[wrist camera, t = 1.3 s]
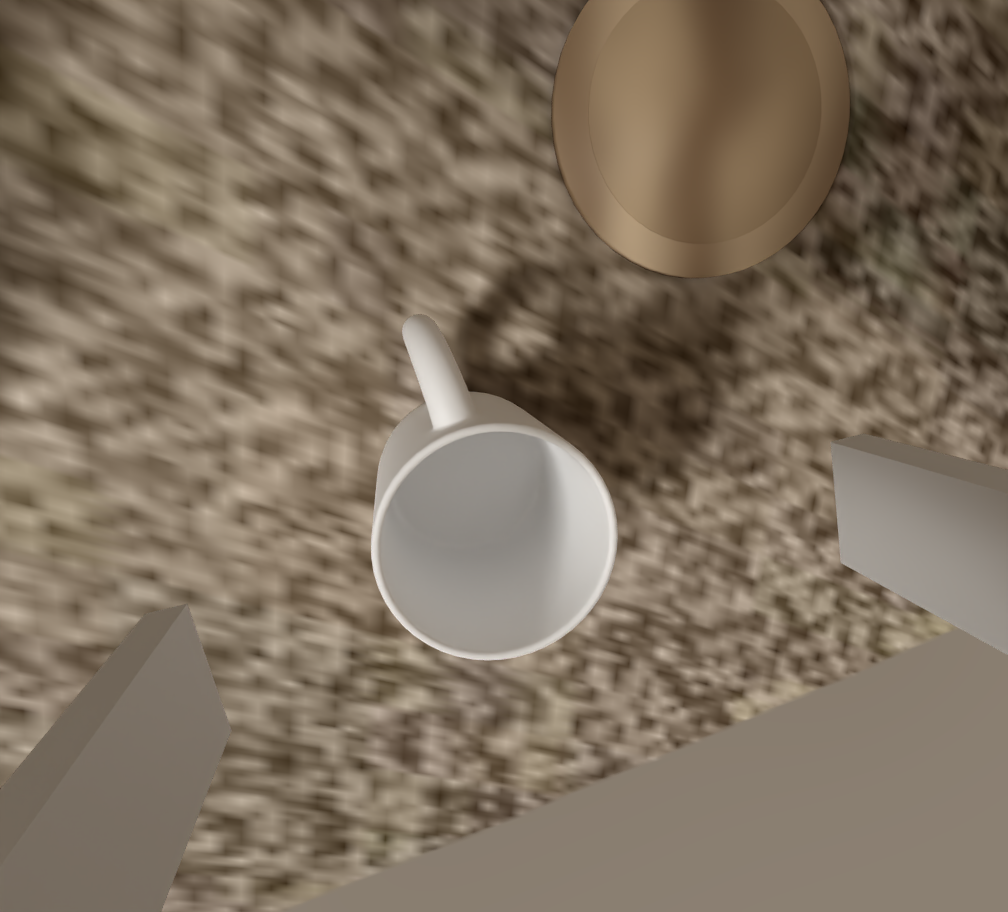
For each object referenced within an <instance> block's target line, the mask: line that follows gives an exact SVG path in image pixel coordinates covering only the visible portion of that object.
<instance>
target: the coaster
mask: <svg viewBox="0 0 1008 912" xmlns="http://www.w3.org/2000/svg"><path fill="white" fill-rule="evenodd" d="M849 117H850V88H849V80H848V71H847V66H846V62H845V57H844V53H843V49H842V46H841V43H840V40H839V37H838V35H837V32H836V29H835V27H834V25H833V23H832V21H831V19H830V17H829V15H828V13H827V11H826V9H825V7H824V6H823V4H822V3H821V1H820V0H589V1H588V2H587V4H586V5H585V6H584V8H583V9H582V11H581V13H580V14H579V16H578V18H577V20H576V22H575V23H574V25H573V27H572V29H571V31H570V32H569V35H568V37H567V40H566V42H565V45H564V47H563V50H562V52H561V55H560V59H559V63H558V66H557V70H556V74H555V79H554V86H553V93H552V110H551V124H552V135H553V144H554V149H555V154H556V158H557V163H558V167H559V170H560V172H561V175H562V178H563V181H564V184H565V187H566V189H567V191H568V193H569V195H570V197H571V199H572V201H573V203H574V205H575V207H576V208H577V210H578V211H579V213H580V214H581V216H582V217H583V219H584V220H585V222H586V223H587V224H588V225H589V227H590V228H591V229H592V230H593V231H594V232H595V233H596V235H597V236H598V237H599V238H600V239H601V240H602V241H603V242H605V243H606V244H607V245H608V246H609V247H610V248H611V249H612V250H614V251H615V252H617V253H618V254H620V255H621V256H623V257H624V258H626V259H627V260H629V261H630V262H632V263H634V264H636V265H638V266H641V267H643V268H645V269H647V270H650V271H653V272H656V273H660V274H663V275H668V276H674V277H680V278H706V277H714V276H722V275H727V274H730V273H734V272H738V271H741V270H744V269H746V268H749V267H751V266H753V265H756V264H758V263H760V262H762V261H763V260H765V259H767V258H768V257H770V256H772V255H773V254H775V253H776V252H778V251H779V250H780V249H782V248H783V247H784V246H785V245H787V244H788V243H789V242H791V241H792V240H793V239H794V238H795V237H796V236H797V235H798V234H799V233H800V232H801V231H802V230H803V229H804V228H805V226H806V225H807V224H808V222H809V221H810V220H811V219H812V217H813V216H814V215H815V213H816V212H817V211H818V209H819V207H820V206H821V204H822V203H823V201H824V199H825V198H826V196H827V194H828V192H829V190H830V188H831V186H832V184H833V181H834V179H835V177H836V175H837V172H838V169H839V166H840V163H841V160H842V157H843V153H844V149H845V144H846V140H847V135H848V126H849Z"/></svg>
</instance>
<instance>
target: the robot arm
mask: <svg viewBox="0 0 1008 912" xmlns="http://www.w3.org/2000/svg"><path fill="white" fill-rule="evenodd" d="M831 452H832V464H833V475H834V487H835V499H836V510H837V522H838V534H839V545H840V557H841V563H842V564H844V565H846V566H848V567H849V568H851V569H853V570H855V571H857V572H859V573H860V574H862V575H864V576H866V577H868V578H869V579H871V580H873V581H875V582H877V583H878V584H880V585H882V586H884V587H886V588H887V589H889V590H891V591H893V592H895V593H896V594H898V595H900V596H902V597H904V598H906V599H907V600H909V601H911V602H913V603H915V604H916V605H918V606H920V607H922V608H924V609H925V610H927V611H929V612H931V613H933V614H934V615H936V616H938V617H940V618H942V619H944V620H945V621H947V622H949V623H951V624H953V625H954V626H956V627H958V628H960V629H962V630H963V631H965V632H967V633H969V634H971V635H973V636H975V637H976V638H978V639H980V640H981V641H983V642H985V643H987V644H989V645H991V646H992V647H994V648H996V649H998V650H1000V651H1002V652H1003V653H1005V654H1007V655H1008V470H1006V469H1002V468H998V467H994V466H990V465H986V464H982V463H978V462H974V461H970V460H966V459H962V458H958V457H954V456H951V455H947V454H943V453H939V452H935V451H931V450H927V449H923V448H919V447H915V446H911V445H907V444H903V443H899V442H895V441H891V440H887V439H883V438H879V437H875V436H871V435H867V434H860V435H857V436H853V437H849V438H845V439H841V440H837V441H833V442H831ZM230 732H231V728H230V725H229V722H228V719H227V716H226V713H225V711H224V708H223V705H222V702H221V699H220V696H219V693H218V690H217V688H216V685H215V682H214V679H213V676H212V673H211V670H210V667H209V665H208V662H207V659H206V656H205V653H204V650H203V647H202V645H201V642H200V639H199V636H198V633H197V630H196V627H195V624H194V622H193V619H192V616H191V613H190V610H189V607H188V604H184V605H180V606H176V607H172V608H168V609H164V610H160V611H156V612H152V613H148V614H145V615H144V616H143V617H142V618H141V619H140V621H139V622H138V623H137V624H136V625H135V627H134V628H133V629H132V630H131V632H130V633H129V634H128V635H127V636H126V638H125V639H124V640H123V641H122V642H121V644H120V645H119V646H118V647H117V648H116V650H115V651H114V652H113V653H112V655H111V656H110V657H109V658H108V659H107V661H106V662H105V663H104V664H103V665H102V667H101V668H100V669H99V670H98V671H97V673H96V674H95V675H94V676H93V678H92V679H91V680H90V681H89V682H88V684H87V685H86V686H85V687H84V688H83V690H82V691H81V692H80V693H79V694H78V696H77V697H76V698H75V699H74V701H73V702H72V703H71V704H70V705H69V707H68V708H67V709H66V710H65V711H64V713H63V714H62V715H61V716H60V717H59V719H58V720H57V721H56V722H55V723H54V725H53V726H52V727H51V728H50V730H49V731H48V732H47V733H46V734H45V736H44V737H43V738H42V739H41V740H40V742H39V743H38V744H37V745H36V746H35V748H34V749H33V750H32V751H31V753H30V754H29V755H28V756H27V757H26V759H25V760H24V761H23V762H22V763H21V765H20V766H19V767H18V768H17V769H16V771H15V772H14V773H13V774H12V776H11V777H10V778H9V779H8V780H7V782H6V783H5V784H4V785H3V786H2V788H0V912H161V910H162V908H163V905H164V903H165V900H166V898H167V895H168V892H169V890H170V887H171V885H172V882H173V879H174V877H175V874H176V872H177V869H178V867H179V864H180V861H181V859H182V856H183V854H184V851H185V849H186V846H187V843H188V841H189V838H190V836H191V833H192V830H193V828H194V825H195V823H196V820H197V818H198V815H199V812H200V810H201V807H202V805H203V802H204V799H205V797H206V794H207V792H208V789H209V787H210V784H211V781H212V779H213V776H214V774H215V771H216V769H217V766H218V763H219V761H220V758H221V756H222V753H223V750H224V748H225V745H226V743H227V740H228V738H229V735H230Z"/></svg>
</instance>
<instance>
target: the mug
mask: <svg viewBox="0 0 1008 912" xmlns="http://www.w3.org/2000/svg"><path fill="white" fill-rule="evenodd" d="M402 334H403V339H404V342H405V345H406V347H407V350H408V353H409V356H410V359H411V361H412V364H413V367H414V370H415V373H416V376H417V379H418V381H419V384H420V387H421V390H422V393H423V396H424V399H425V403H423V404H421V405H420V406H418V407H417V408H416V409H414V410H413V411H412V412H410V413H409V414H408V415H407V416H406V417H405V418H404V419H403V420H401V422H400V423H399V424H398V425H397V427H396V428H395V429H394V430H393V432H392V434H391V435H390V437H389V439H388V440H387V443H386V445H385V447H384V450H383V452H382V455H381V459H380V462H379V467H378V475H377V484H376V495H375V505H374V516H373V526H372V537H371V558H372V564H373V571H374V575H375V578H376V582H377V585H378V588H379V590H380V592H381V594H382V597H383V599H384V601H385V602H386V604H387V606H388V607H389V609H390V610H391V612H392V613H393V615H394V616H395V617H396V618H397V619H398V620H399V622H400V623H401V624H402V625H403V626H404V627H405V628H406V629H407V630H409V631H410V632H411V633H412V634H413V635H414V636H416V637H417V638H419V639H420V640H422V641H423V642H425V643H426V644H428V645H430V646H432V647H434V648H436V649H438V650H440V651H442V652H445V653H448V654H451V655H454V656H458V657H463V658H468V659H475V660H502V659H508V658H514V657H519V656H522V655H526V654H529V653H532V652H535V651H537V650H539V649H542V648H544V647H546V646H548V645H550V644H552V643H553V642H555V641H557V640H559V639H560V638H562V637H563V636H564V635H566V634H567V633H568V632H570V631H571V630H572V629H573V628H575V627H576V626H577V625H578V624H579V623H580V622H581V621H582V620H583V619H584V618H585V617H586V615H587V614H588V613H589V612H590V611H591V609H592V608H593V607H594V606H595V604H596V602H597V601H598V599H599V598H600V596H601V595H602V593H603V591H604V589H605V587H606V585H607V583H608V581H609V578H610V575H611V572H612V569H613V566H614V561H615V556H616V551H617V538H618V531H617V518H616V513H615V508H614V504H613V501H612V498H611V495H610V492H609V490H608V488H607V486H606V484H605V482H604V480H603V478H602V477H601V475H600V474H599V472H598V471H597V469H596V468H595V467H594V465H593V464H592V463H591V462H590V461H589V460H588V459H587V458H586V456H585V455H584V454H583V453H582V452H580V451H579V450H578V449H577V448H575V447H574V446H573V445H572V444H570V443H569V442H568V441H566V440H565V439H563V438H562V437H561V436H559V435H558V434H556V433H555V432H554V431H552V430H551V429H550V428H548V427H547V426H545V425H544V424H543V423H541V422H540V421H538V420H537V419H536V418H534V417H533V416H531V415H530V414H529V413H527V412H526V411H524V410H523V409H522V408H520V407H518V406H517V405H515V404H513V403H512V402H510V401H508V400H505V399H503V398H501V397H498V396H495V395H491V394H487V393H480V392H469V391H468V389H467V386H466V384H465V381H464V379H463V377H462V374H461V372H460V370H459V368H458V365H457V363H456V361H455V359H454V356H453V354H452V352H451V350H450V348H449V346H448V344H447V342H446V340H445V338H444V336H443V334H442V333H441V331H440V329H439V328H438V326H437V324H436V323H435V321H434V320H432V319H431V318H430V317H428V316H426V315H422V314H417V315H413V316H411V317H409V318H408V319H407V320H406V322H405V323H404V325H403V329H402Z"/></svg>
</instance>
